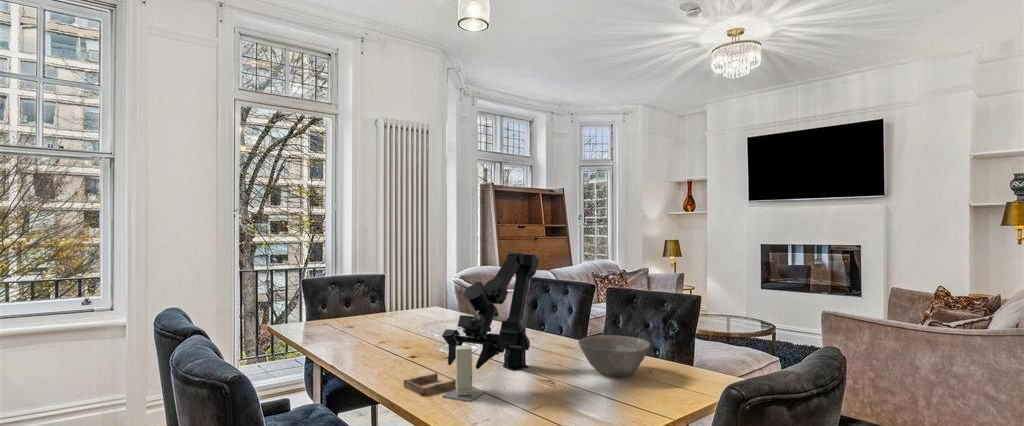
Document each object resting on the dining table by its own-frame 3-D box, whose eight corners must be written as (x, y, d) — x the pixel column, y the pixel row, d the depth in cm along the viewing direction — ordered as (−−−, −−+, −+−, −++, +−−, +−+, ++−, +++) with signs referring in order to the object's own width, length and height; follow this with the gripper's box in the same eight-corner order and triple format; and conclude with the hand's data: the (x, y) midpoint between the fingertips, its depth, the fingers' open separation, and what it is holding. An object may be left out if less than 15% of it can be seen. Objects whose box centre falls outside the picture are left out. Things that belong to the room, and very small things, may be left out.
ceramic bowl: (622, 389, 150) (622, 354, 150) (564, 372, 167) (563, 341, 168) (665, 374, 165) (665, 342, 165) (607, 360, 182) (607, 331, 182)
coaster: (459, 388, 153) (459, 386, 153) (486, 392, 148) (486, 390, 148) (442, 397, 145) (442, 395, 145) (469, 402, 140) (469, 400, 140)
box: (472, 395, 145) (472, 348, 145) (456, 396, 144) (456, 349, 144) (471, 389, 150) (470, 344, 150) (455, 390, 149) (455, 345, 149)
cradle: (435, 379, 161) (435, 373, 161) (455, 387, 153) (455, 381, 153) (403, 386, 154) (403, 380, 154) (422, 396, 146) (422, 388, 146)
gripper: (445, 301, 155) (423, 347, 145) (500, 305, 147) (480, 354, 137) (460, 323, 162) (439, 368, 152) (513, 328, 154) (495, 376, 144)
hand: (462, 366), depth 146 cm, fingers open, 9 cm apart
